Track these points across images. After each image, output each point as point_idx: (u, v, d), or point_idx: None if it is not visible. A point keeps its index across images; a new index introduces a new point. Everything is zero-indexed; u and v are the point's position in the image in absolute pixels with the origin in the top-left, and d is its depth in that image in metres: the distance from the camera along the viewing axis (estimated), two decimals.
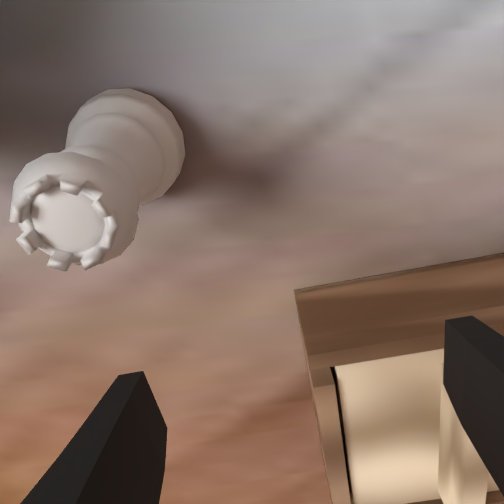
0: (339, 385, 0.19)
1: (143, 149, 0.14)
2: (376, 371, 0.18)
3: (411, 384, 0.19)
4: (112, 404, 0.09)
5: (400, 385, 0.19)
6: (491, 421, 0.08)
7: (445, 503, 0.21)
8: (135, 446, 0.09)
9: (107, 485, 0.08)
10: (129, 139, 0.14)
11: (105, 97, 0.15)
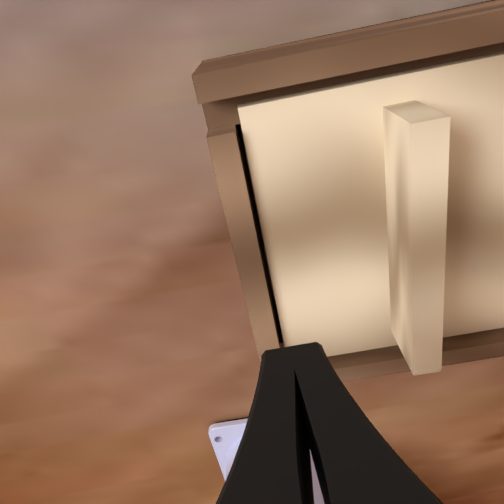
0: (245, 144, 0.14)
1: None
2: (293, 119, 0.13)
3: (343, 145, 0.14)
4: (279, 376, 0.09)
5: (329, 146, 0.14)
6: (313, 448, 0.09)
7: (398, 338, 0.17)
8: (301, 420, 0.09)
9: (300, 455, 0.07)
10: None
11: None
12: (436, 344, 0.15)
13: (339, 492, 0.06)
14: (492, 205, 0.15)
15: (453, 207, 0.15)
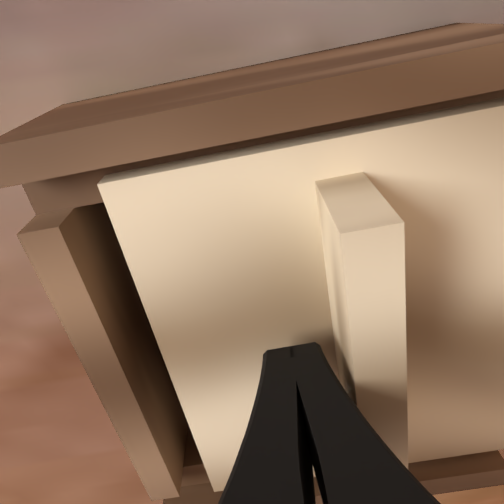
0: (117, 233, 0.09)
1: None
2: (183, 199, 0.09)
3: (262, 233, 0.09)
4: (281, 376, 0.09)
5: (240, 235, 0.09)
6: (311, 449, 0.09)
7: None
8: (302, 419, 0.09)
9: (302, 455, 0.07)
10: None
11: None
12: None
13: (337, 492, 0.06)
14: (480, 308, 0.11)
15: (425, 311, 0.11)
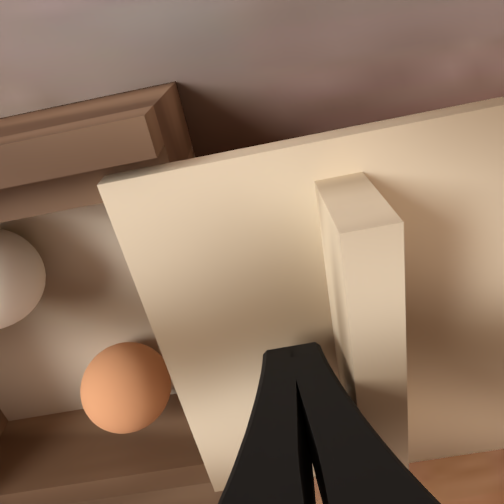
0: (117, 233, 0.09)
1: None
2: (183, 199, 0.09)
3: (261, 233, 0.09)
4: (281, 376, 0.09)
5: (240, 235, 0.09)
6: (311, 449, 0.09)
7: None
8: (302, 420, 0.09)
9: (302, 455, 0.07)
10: None
11: None
12: None
13: (337, 492, 0.06)
14: (480, 308, 0.11)
15: (425, 310, 0.11)
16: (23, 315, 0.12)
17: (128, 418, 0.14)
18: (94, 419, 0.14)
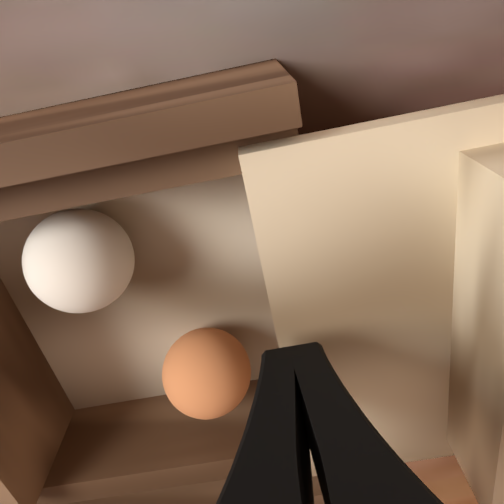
0: (250, 206, 0.09)
1: None
2: (323, 170, 0.09)
3: (397, 206, 0.09)
4: (279, 376, 0.09)
5: (374, 208, 0.09)
6: (313, 449, 0.09)
7: (461, 459, 0.12)
8: (301, 420, 0.09)
9: (300, 455, 0.07)
10: None
11: None
12: None
13: (339, 492, 0.06)
14: None
15: None
16: (116, 297, 0.12)
17: (215, 403, 0.13)
18: (180, 404, 0.13)
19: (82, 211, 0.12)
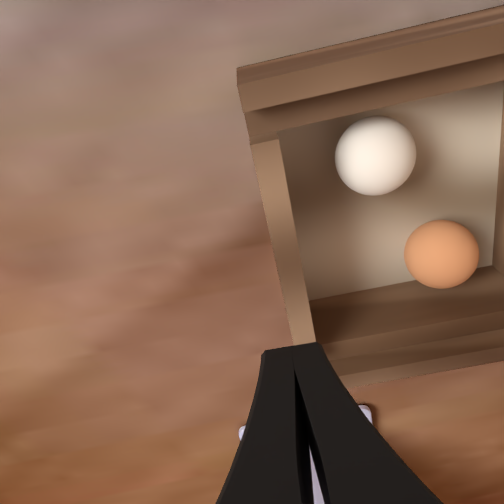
0: None
1: None
2: None
3: None
4: (279, 377, 0.09)
5: None
6: (313, 449, 0.09)
7: None
8: (301, 420, 0.09)
9: (300, 456, 0.07)
10: None
11: None
12: None
13: (339, 492, 0.06)
14: None
15: None
16: None
17: (463, 269, 0.17)
18: (434, 271, 0.18)
19: (385, 116, 0.16)
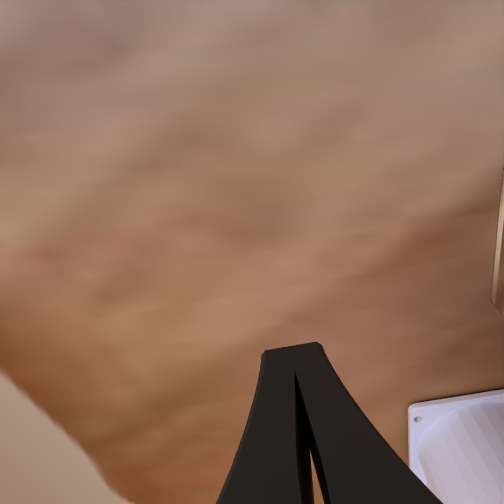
0: None
1: None
2: None
3: None
4: (279, 376, 0.09)
5: None
6: (313, 449, 0.09)
7: None
8: (301, 420, 0.09)
9: (300, 455, 0.07)
10: None
11: None
12: None
13: (339, 492, 0.06)
14: None
15: None
16: None
17: None
18: None
19: None
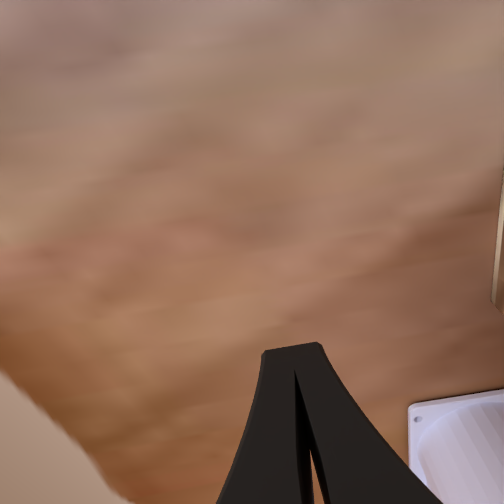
0: None
1: None
2: None
3: None
4: (279, 376, 0.09)
5: None
6: (313, 449, 0.09)
7: None
8: (301, 420, 0.09)
9: (300, 455, 0.07)
10: None
11: None
12: None
13: (339, 492, 0.06)
14: None
15: None
16: None
17: None
18: None
19: None
